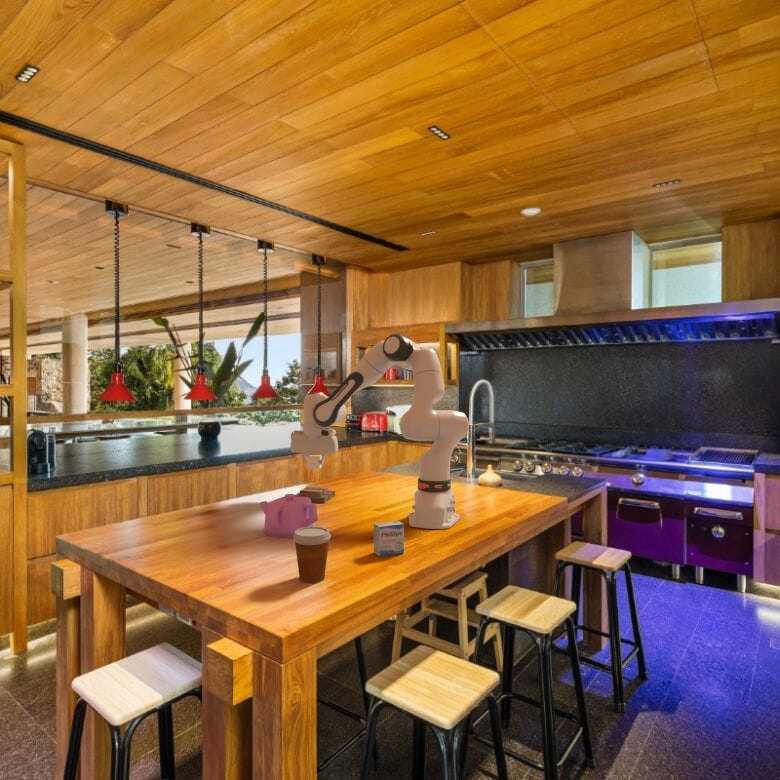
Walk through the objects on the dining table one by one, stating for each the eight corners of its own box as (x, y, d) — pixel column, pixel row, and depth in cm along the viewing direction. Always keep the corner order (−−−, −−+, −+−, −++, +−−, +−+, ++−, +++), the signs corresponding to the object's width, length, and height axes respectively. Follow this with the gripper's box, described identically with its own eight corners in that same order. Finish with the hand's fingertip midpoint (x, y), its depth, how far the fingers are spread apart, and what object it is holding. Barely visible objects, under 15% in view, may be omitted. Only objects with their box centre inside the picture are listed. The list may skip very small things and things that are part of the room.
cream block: (317, 469, 220) (317, 457, 220) (306, 468, 221) (306, 456, 221) (321, 467, 225) (321, 455, 225) (310, 466, 226) (310, 455, 226)
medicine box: (379, 557, 151) (379, 527, 150) (373, 552, 155) (373, 523, 154) (404, 553, 154) (404, 524, 154) (398, 549, 158) (398, 520, 158)
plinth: (324, 503, 215) (324, 493, 215) (291, 501, 218) (291, 491, 218) (335, 495, 228) (335, 486, 228) (304, 494, 231) (304, 485, 231)
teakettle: (270, 542, 165) (270, 502, 164) (258, 528, 180) (258, 491, 180) (322, 535, 172) (322, 497, 172) (307, 522, 187) (307, 487, 187)
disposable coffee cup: (285, 582, 132) (285, 534, 132) (305, 569, 141) (305, 524, 141) (319, 587, 129) (319, 538, 128) (337, 574, 137) (337, 528, 137)
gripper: (287, 430, 222) (287, 464, 222) (334, 432, 217) (334, 465, 218) (293, 429, 228) (293, 461, 228) (339, 430, 224) (339, 463, 224)
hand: (314, 463), depth 223 cm, fingers closed on cream block, 5 cm apart
